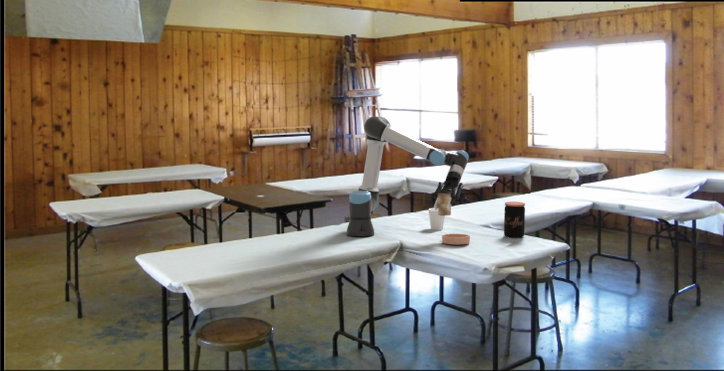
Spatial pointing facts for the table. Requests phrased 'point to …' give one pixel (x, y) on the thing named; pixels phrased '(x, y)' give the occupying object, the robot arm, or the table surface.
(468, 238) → the bowl
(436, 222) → the foam cup
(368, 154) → the robot arm
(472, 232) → the table surface
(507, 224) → the coffee jar
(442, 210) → the canister
